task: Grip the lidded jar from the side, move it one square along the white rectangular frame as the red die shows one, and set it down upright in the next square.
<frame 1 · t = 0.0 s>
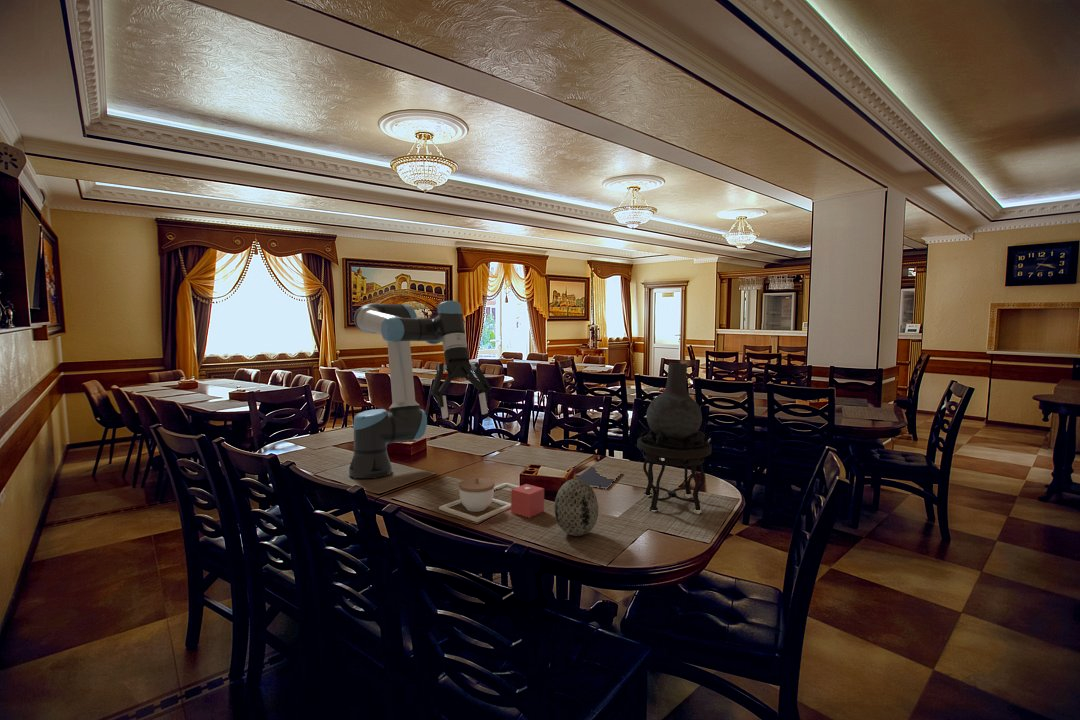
hand: (465, 415, 152), 28 cm above the table, tool tilted 20°, fingers open, 13 cm apart
lidded jar: (476, 508, 151), resting in white rectangular frame
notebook: (598, 480, 183), on the table
white rectangular frame: (492, 501, 157), on the table
decorative egg: (575, 535, 133), on the table
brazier: (671, 504, 157), on the table
die: (527, 511, 149), on the table
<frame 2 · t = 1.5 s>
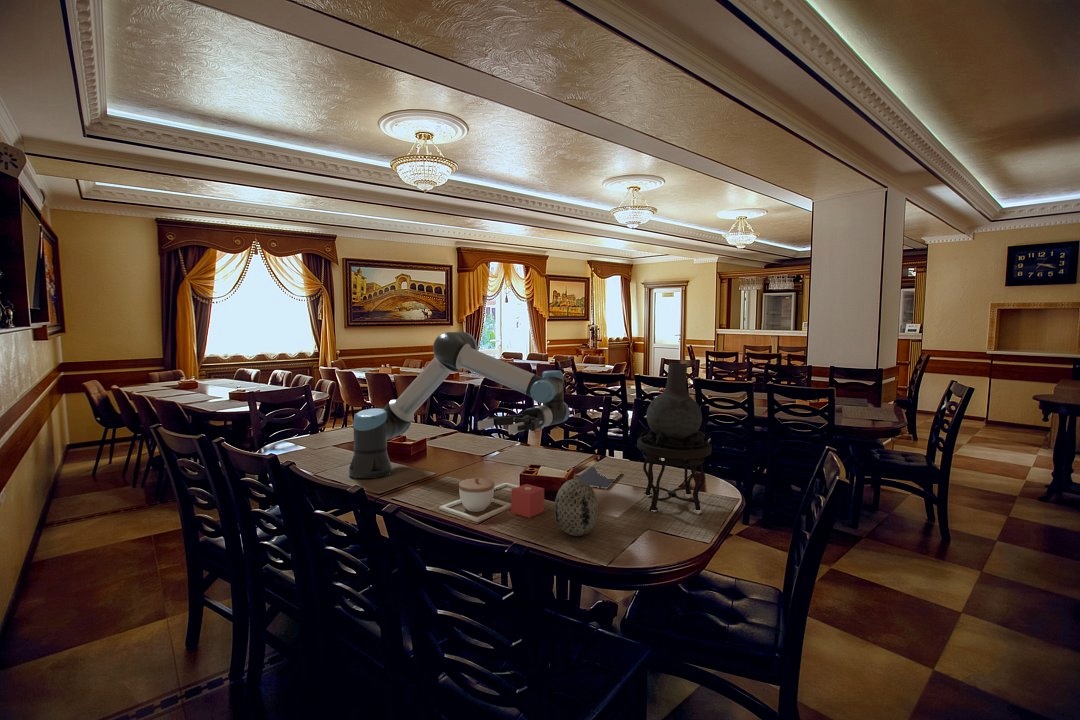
hand: (493, 427, 156), 23 cm above the table, tool horizontal, fingers open, 13 cm apart
nothing on the table moved.
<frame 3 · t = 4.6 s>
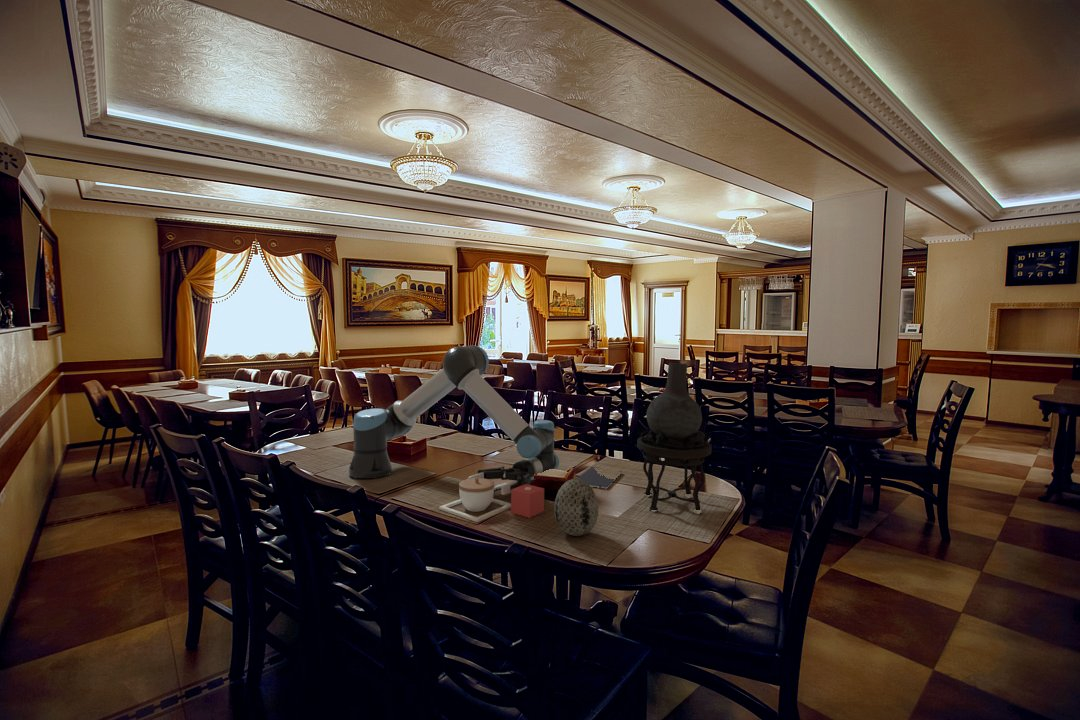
hand: (485, 485, 153), 6 cm above the table, tool horizontal, fingers open, 13 cm apart
nothing on the table moved.
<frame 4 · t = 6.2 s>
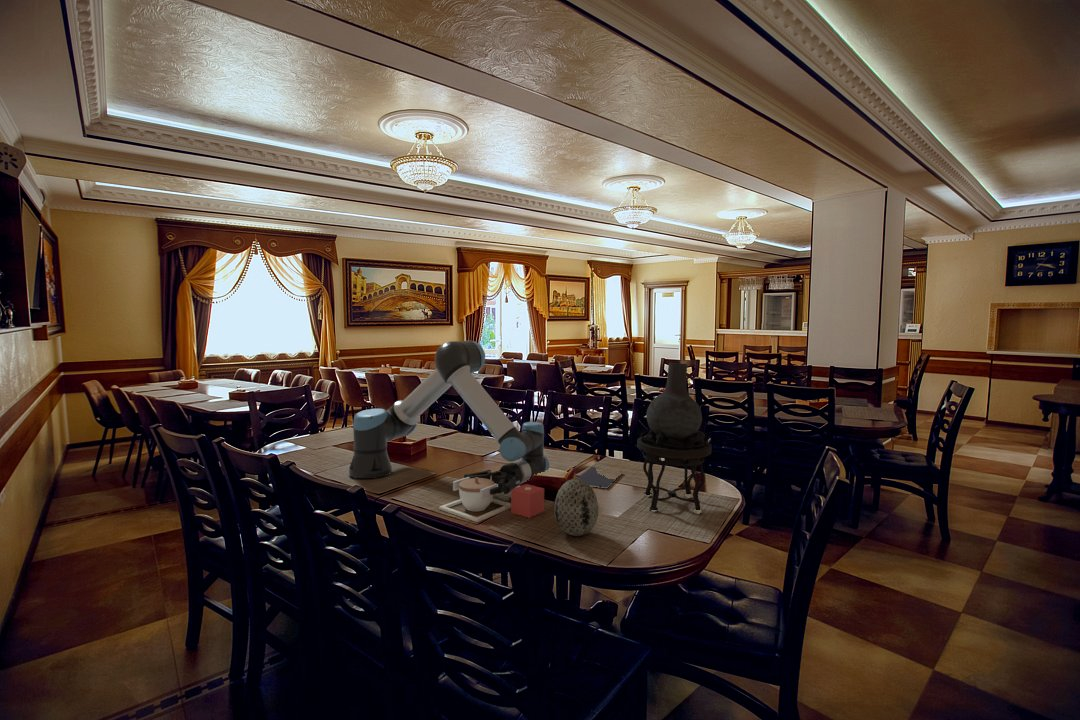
hand: (467, 490, 148), 7 cm above the table, tool horizontal, fingers closed on lidded jar, 11 cm apart
lidded jar: (476, 508, 151), resting in white rectangular frame, touching gripper
everything else where it was.
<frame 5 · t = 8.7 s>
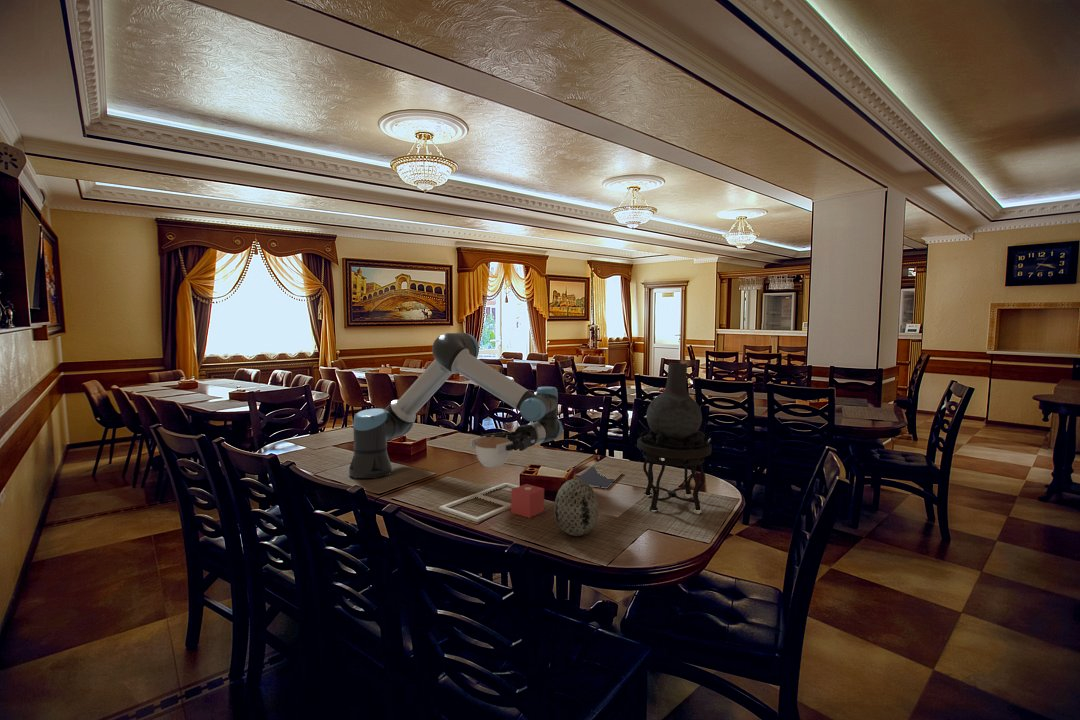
hand: (483, 446, 152), 19 cm above the table, tool horizontal, fingers closed on lidded jar, 11 cm apart
lidded jar: (492, 465, 155), point 12 cm above the table, touching gripper
everything else where it was.
when the fingers open (8 cm above the table, at t = 11.6 s): lidded jar drops 1 cm, resting in white rectangular frame.
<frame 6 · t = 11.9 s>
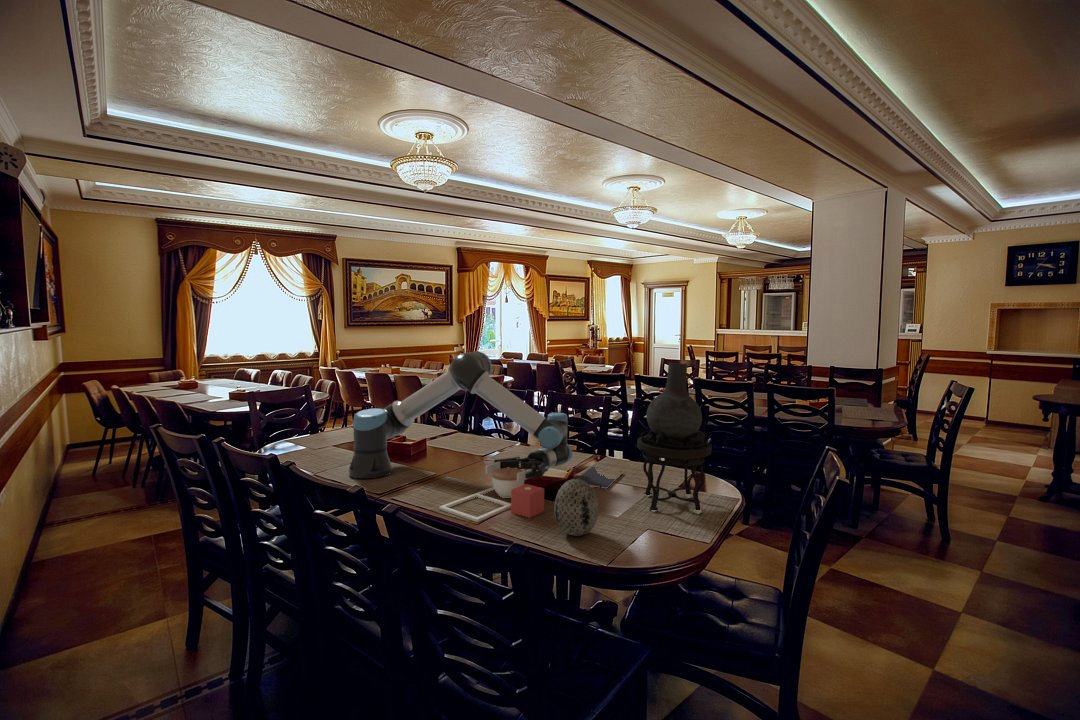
hand: (501, 473, 160), 8 cm above the table, tool horizontal, fingers open, 13 cm apart
lidded jar: (508, 496, 163), resting in white rectangular frame
everything else where it was.
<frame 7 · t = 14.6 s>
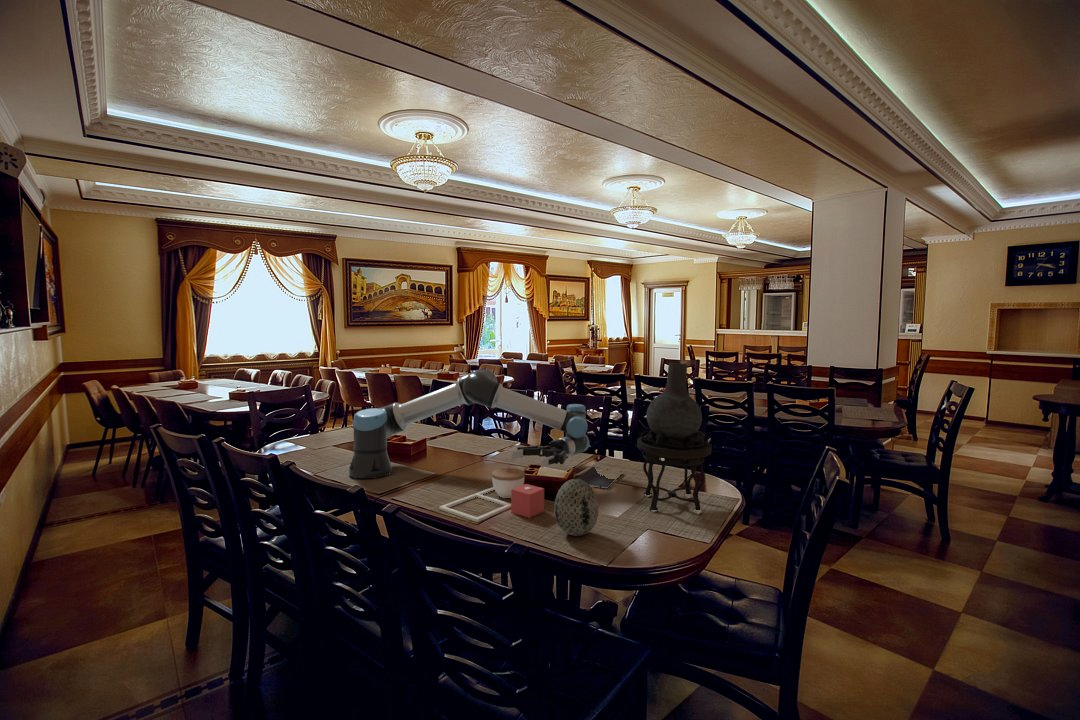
hand: (525, 459, 170), 10 cm above the table, tool horizontal, fingers open, 13 cm apart
nothing on the table moved.
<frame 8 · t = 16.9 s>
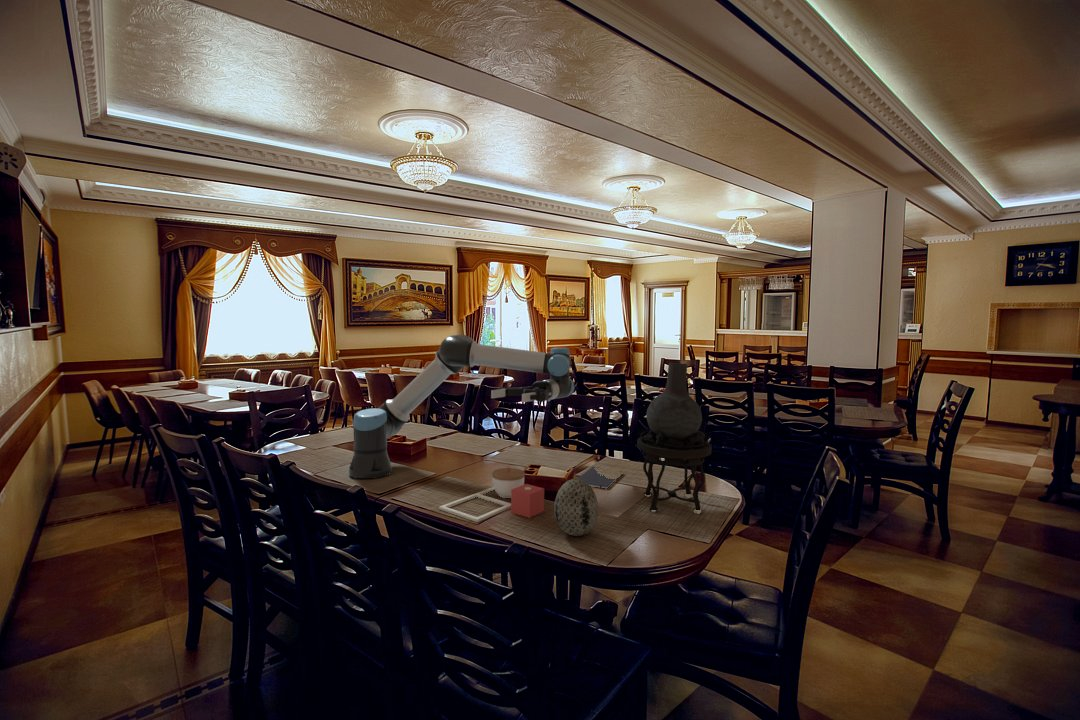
hand: (506, 396, 167), 32 cm above the table, tool horizontal, fingers open, 13 cm apart
nothing on the table moved.
at the end: lidded jar inside the target area (0.0 cm from its centre), resting in white rectangular frame; lidded jar tilted 0°; the gripper is holding nothing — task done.
